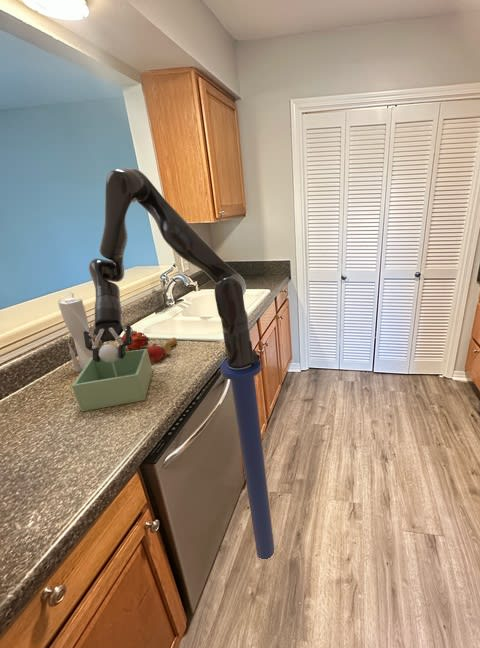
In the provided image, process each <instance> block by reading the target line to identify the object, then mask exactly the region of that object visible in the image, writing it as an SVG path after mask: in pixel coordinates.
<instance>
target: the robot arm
mask: <svg viewBox="0 0 480 648" xmlns="http://www.w3.org/2000/svg"><path fill="white" fill-rule="evenodd" d="M104 191H105V195H104V196H105V199H104V200H105V201H104V202H105V203H104V204H105V205H104V225H103V226H104V227H103V232H102V236H101V240H100V241H101V242H100V245H99V253H100V256H102V257H103V258H104V259H103V258H94V259H92V260H90V262H89V264H88V272H89V275H90V278H91V279H92V282H93V286H94V291H95V302H94V329H93V330H89V332H87V331H84V340H85V347H86V348H87V349H88V350H90V351H93V359H94V360H95V361H96V362H100V357H99V355H98V354H99V351H100V349H101V348H102V347H103V346H104V345H105V343H108V342H114V341H115V342H117V343H118V348H119V358H121V359H123V358H124V356H125V352H126V348H127V345H131V344H132V333H133V331H134V330H133V328H132V326H131V325H129V324H128V325H126V326H123V322H122V321H123V319H122V305H121V296H120V295H121V293H120V286H118V284H116V283H119V282H121V281H122V280H123V279H124V277H125V265H124V256H125V251H126V248H127V243H128V231H127V224H126V216H127V212H128V210H129V208H130V206H131V204H133V203H138V204H139V205H140V206H142V208H143V209H144V210H146V212H148V213H149V214H150V216H151V217H152V218H153V220H154V221H155V223H156V225H157V227H158V230H159V233H160V235H161V237H162V239H163V240H164V241H165V243H166V244H167V245H168V246H169V247H170V248H171V249H172V250H173V251H174V252H175V253H176V254H177V256H179V257H180V258H181V259H183V260H184V261H186V262H188V263H189V264H191V265H192V266H194V267H195V268H197V269H199V270H201V271H203V272H204V273H205V274H206V275H207V276H208V277H209V278H210V279H211V280H212V281H213V282H214V283H215V285H214V299H215V305H216V310H217V314H218V316H219V318H220V323H221V329H222V335H223V341H224V343H223V344H224V349H225V357H226V360H227V363H228V368H230V369H232V370H244V369H247V368H249V367H251V366H254V361H256V360H257V361H258V360H259V359H260V360H261V356H260V354H258V353H257V350H256V349H253V344H252V340H251V333H250V323H249V315H248V311H247V310H246V306H245V299H244V295H245V293H246V292H247V284H246V280H245V279H244V278H243V277H242V275H241V274H239V273H238V272H237V271H236V270H234V268H232V267H231V266H230V265H228V263H226V262H225V260H223V259H222V258H221V257H220V256H219V255H218V253H216V252H215V250H214V249H213V248H212V247H211V245H209V244H208V243H207V242H206V241H205V240H204V239H203V238H202V236H200V234H199V233H198V232H197V231H196V230H195V229H194V228H193V227H192V225H190V224H189V223H188V222H187V221H186V220H185V219H184V218H183V217H182V216H181V215H180V213H178V212H177V210H176V209H174V207H173V206H172V205H171V204H170V203H168V201H167V200H166V199H165V198H164V197H163V196H162V194H161V193H160V191H159V190H158V189H157V188H156V187H155V185H154V184H153V183H152V181H151V180H150V179H149V178H148V177H147V176H146V175H145V173H144V172H142V171H141V170H139V169H137V168H133V167H126V168H117V169H113V170H110V172H108V174H107V176H106V179H105V189H104ZM123 332H124V333H126V338H125V341H122V339H121V338H122V337H121V335H122V333H123ZM94 335H95V336H96V337H95V339H94V344H93V345H92V340H93V338H94Z"/></svg>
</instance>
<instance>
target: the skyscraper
mask: <svg viewBox="0 0 480 648" xmlns="http://www.w3.org/2000/svg"><path fill="white" fill-rule="evenodd" d="M68 295H69V296H70V295H71V297H70V298H65V299H64V300H63V301H61V300H62V299H63V298H64V297H66V296H68ZM74 295H75V293H74V292H67V293H65V294H63V295H61V296H60V298H59V299H58V301H57V304H58V307H59V310H60V313H61V316H62V318H63V321H64V323H65V326H66V328H67V330H68V332H69V334H70V335H71V337H72V338H73V343H74V346H75V347H74V348H75V350H76V352H75V350H73V348H72V345H71V343H70V340H69V339H67V340H66V341H67V346H68V348H69V354H70V356H71V361H72V365H73V367H74V370H75V371H74V373H76V374H77V373H78V374H80V373H81V372H82V370H83V369H84V367H85V366H86V364H87V363H88V361H89V360H90V359H91V357H93V351H90V350H88V349H87V348H86V347H85V340H84V331H87V332H90V330H89V321H88V315H87V312H86V308H85V305H84V302H83V299H82V298H74ZM94 343H95V341H94V340H93V339H92V345H93V344H94ZM75 353H76V354H77V355H76V354H75Z"/></svg>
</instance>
